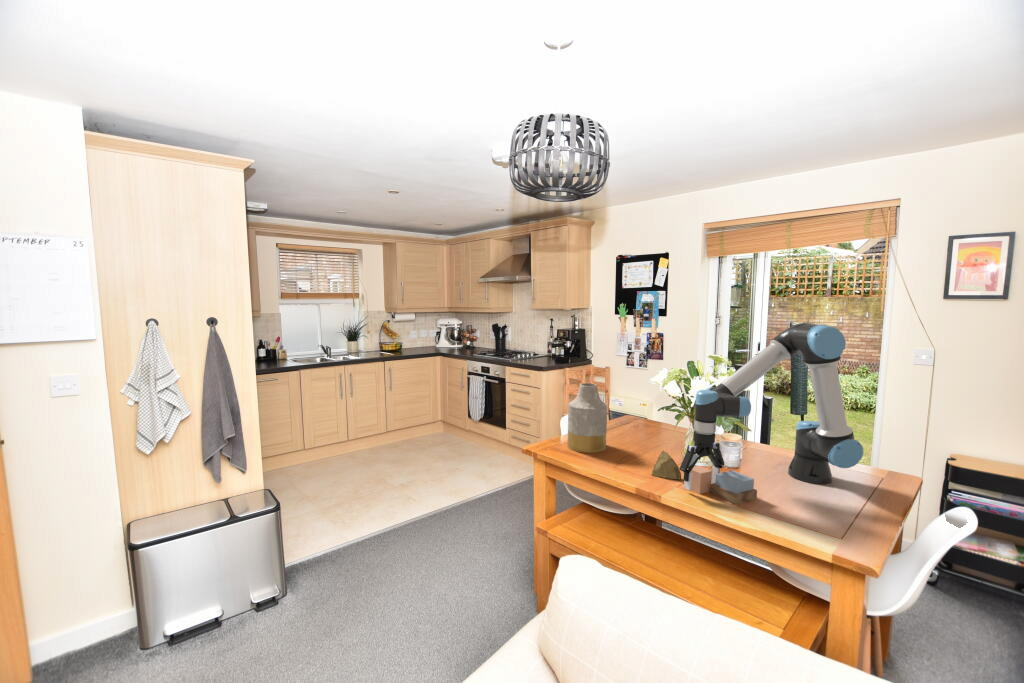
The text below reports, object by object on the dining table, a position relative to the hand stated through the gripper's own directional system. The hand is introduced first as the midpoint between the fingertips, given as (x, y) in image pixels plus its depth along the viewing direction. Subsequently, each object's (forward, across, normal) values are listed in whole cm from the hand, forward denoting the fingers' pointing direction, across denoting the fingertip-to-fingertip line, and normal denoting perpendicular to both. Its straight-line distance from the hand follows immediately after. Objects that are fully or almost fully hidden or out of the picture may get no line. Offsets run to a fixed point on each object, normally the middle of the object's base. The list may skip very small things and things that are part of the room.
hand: (701, 486), depth 176 cm
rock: (+2, +3, -15) cm, 15 cm away
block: (+2, 0, -1) cm, 2 cm away
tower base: (+2, -7, +8) cm, 11 cm away
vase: (+2, +13, -59) cm, 60 cm away
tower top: (-2, -7, +8) cm, 11 cm away
